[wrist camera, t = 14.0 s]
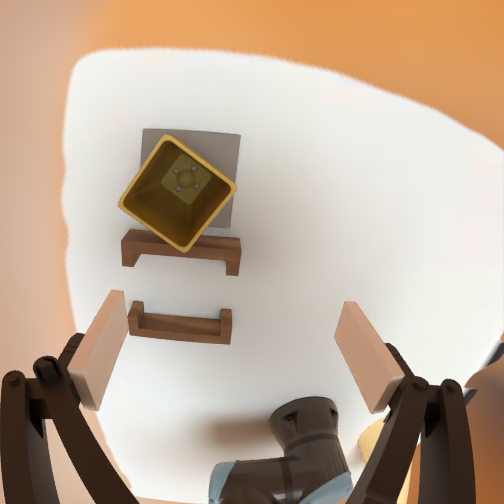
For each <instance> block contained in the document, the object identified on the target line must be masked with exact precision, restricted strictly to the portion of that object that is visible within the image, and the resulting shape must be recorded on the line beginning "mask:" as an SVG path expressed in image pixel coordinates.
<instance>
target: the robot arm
mask: <svg viewBox="0 0 504 504" xmlns="http://www.w3.org/2000/svg"><path fill="white" fill-rule="evenodd" d="M127 332H128V322H127V315H126V308H125V300H124V292H123V291H117V290H111V291H110V293H109V295H108V296H107V298H106V300H105V301H104V303H103V305H102V306H101V308H100V310H99V311H98V313H97V315H96V316H95V318H94V320H93V322H92V323H91V325H90V327H89V329H88V330H87V332H86V334H82V333H76V334H75V335H73V336H72V337H71V338H70V339H69V341H68V343H67V345H66V346H65V348H64V349H63V352H62V353H61V355H60V356H59V358H58V360H57V359H56V358H55V357H53V356H44V357H41V358H39V359H37V360H36V361H35V363H34V365H33V371H34V373H35V375H36V377H37V378H28V379H27V378H25V376H24V374H23V373H22V372H20V371H15V370H14V371H10V372H8V373H7V374H6V375H5V376H4V377H3V380H2V389H1V403H0V456H1V471H2V481H3V489H4V496H5V503H6V504H60V502H59V498H58V494H57V490H56V486H55V481H54V477H53V472H52V467H51V461H50V455H49V449H48V442H47V434H46V426H45V419H52V420H53V422H54V424H55V427H56V429H57V431H58V434H59V436H60V438H61V440H62V443H63V445H64V447H65V449H66V451H67V453H68V455H69V457H70V459H71V461H72V463H73V465H74V467H75V469H76V471H77V473H78V475H79V476H80V478H81V480H82V482H83V483H84V485H85V487H86V489H87V490H88V492H89V494H90V495H91V497H92V498H93V500H94V502H95V503H96V504H139V502H138V501H137V500H136V498H135V497H134V496H133V494H132V493H131V492H130V490H129V489H128V488H127V486H126V485H125V484H124V482H123V481H122V479H121V478H120V477H119V475H118V474H117V472H116V471H115V469H114V468H113V466H112V465H111V463H110V462H109V460H108V458H107V457H106V455H105V454H104V452H103V450H102V449H101V447H100V445H99V444H98V442H97V440H96V439H95V437H94V435H93V433H92V432H91V430H90V428H89V426H88V424H87V423H86V421H85V419H84V417H83V415H82V413H81V411H80V409H79V404H80V402H81V403H82V405H83V407H84V408H85V409H90V410H94V411H99V408H100V405H101V402H102V399H103V396H104V393H105V390H106V387H107V385H108V382H109V379H110V376H111V373H112V371H113V368H114V365H115V363H116V360H117V357H118V355H119V352H120V350H121V347H122V344H123V342H124V339H125V337H126V334H127ZM334 338H335V340H336V342H337V344H338V346H339V348H340V350H341V352H342V354H343V356H344V358H345V360H346V362H347V364H348V366H349V369H350V371H351V373H352V375H353V377H354V379H355V381H356V383H357V385H358V387H359V390H360V392H361V394H362V396H363V398H364V400H365V402H366V404H367V407H368V409H369V411H370V413H371V414H374V413H379V412H384V410H385V408H386V407H387V405H389V407H390V409H391V410H390V411H389V413H388V415H387V416H386V418H385V419H384V421H383V423H384V425H383V428H382V430H381V433H380V435H379V438H378V440H377V442H376V444H375V447H374V449H373V451H372V453H371V455H370V458H369V460H368V462H367V464H366V466H365V468H364V470H363V472H362V474H361V476H360V478H359V480H358V482H357V484H356V486H355V487H354V489H353V484H352V480H351V472H350V471H349V469H348V466H347V463H346V460H345V457H344V454H343V451H342V448H341V445H340V442H339V439H338V411H337V408H336V405H335V403H334V402H333V401H331V400H330V399H327V398H323V397H309V398H303V399H299V400H295V401H292V402H290V403H288V404H286V405H284V406H282V407H280V408H279V409H278V410H277V411H275V412H274V414H273V415H272V417H271V419H270V425H271V430H272V433H273V435H274V436H275V438H276V439H277V441H278V443H279V444H280V446H281V447H282V449H283V451H284V456H285V457H279V458H270V459H260V460H245V461H239V460H236V461H234V462H222V463H219V464H217V465H216V466H215V467H214V469H213V471H212V474H211V478H210V484H209V504H337V503H339V502H341V501H342V500H344V499H345V498H347V497H348V496H349V495H350V494H351V495H350V497H349V498H348V500H347V502H346V504H397V500H398V497H399V495H400V492H401V490H402V487H403V484H404V482H405V479H406V476H407V473H408V471H409V468H410V465H411V462H412V458H413V455H414V452H415V449H416V445H417V442H418V438H419V435H420V431H421V460H420V461H421V462H420V485H419V498H418V504H476V494H475V493H476V491H475V474H474V462H473V452H472V444H471V437H470V431H469V424H468V418H467V412H466V407H465V402H464V397H463V393H462V388H461V386H460V384H459V383H458V382H456V381H455V380H452V379H445V380H443V382H442V383H441V385H440V386H437V385H429V383H428V382H427V381H426V380H425V379H423V378H422V377H418V376H415V375H414V374H413V372H412V371H411V369H410V368H409V366H408V365H407V364H406V362H405V361H404V360H403V358H402V356H400V353H399V352H398V350H397V349H396V348H395V347H394V346H393V345H391V344H390V343H384V342H383V341H382V339H381V338H380V336H379V335H378V333H377V332H376V330H375V329H374V327H373V326H372V324H371V323H370V322H369V320H368V319H367V317H366V316H365V314H364V313H363V311H362V310H361V309H360V307H359V306H358V304H357V303H356V302H344V306H343V309H342V313H341V316H340V320H339V323H338V326H337V329H336V333H335V336H334ZM352 490H353V491H352ZM351 492H352V493H351Z"/></svg>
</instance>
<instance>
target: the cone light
mask: <svg viewBox="0 0 504 504" xmlns="http://www.w3.org/2000/svg"><path fill="white" fill-rule="evenodd" d="M385 418H386V417H384V418H382V419H380V420H379V421H377V422H375V423H374V424H372V425H371V426H370V427H368V428H367V429H366V430H365V431H364V432H363V433H362V434H361V435H360V437H359V439H358V442H359V445H360V448H361V452H362V455H363V459H364V462H365V466H366V464H367V462H368V460H369V458H370V455H371V453H372V451H373V449H374V447H375V444H376V442H377V440H378V438H379V435H380V433H381V430H382V428H383V425H384V423H383V421H384V419H385ZM411 465H412V462H411ZM411 465H410V468H409V471H408V473H407V476H406V479H405V482H404V484H403V487H402V490H401V492H400V495H399V497H398V500H397V504H406V501H407V496H408V489H409V482H410V475H411Z"/></svg>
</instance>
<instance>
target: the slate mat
mask: <svg viewBox="0 0 504 504" xmlns="http://www.w3.org/2000/svg"><path fill="white" fill-rule="evenodd" d="M164 135H171V136H173V137H176V138H178V139H180V140H181V141H182V142H183V143H185V144H186V145H187V146H189V147H190V148H191V149H193V150H194V151H195V152H197V153H198V154H199V155H200V156H202V157H203V158H204V159H206V160H207V161H208V162H210V163H211V164H212V165H214V166H215V167H216V168H218V169H219V170H220V171H222V172H223V173H224V174H226V175H227V176H228V177H229V178H230V179H231V180H232V181H233V182H234V183H235V178H236V169H237V161H238V153H239V145H240V137H241V135H235V134H226V133H215V132H202V131H188V130H168V129H143V137H142V151H141V167H142V166H143V164H144V163H145V161H146V160H147V158H148V157H149V155H150V154H151V152H152V151H153V149H154V148H155V146H156V145H157V143H158V142H159V141H160V139H161V138H162V137H163V136H164ZM140 169H141V168H140ZM192 170H193V171H195V170H196V167H195V166H193V167H192ZM174 173H178V170H177V169H174ZM194 187H195V188H196V189H197V188H199V185H198V184H195V185H194ZM176 189H177V191H180V190H181V188H180V187H177V188H176ZM232 203H233V196H232V197H231V198H230V200H229V201H228V202H227V203H226V204H225V205H224V207H223V208H222V209H221V210H220V211H219V213H218V214H217V215H216V216H215V217H214V219H213V220H212V221H211V222H210V224H209V225H208V226H207V227H219V228H230V221H231V212H232Z"/></svg>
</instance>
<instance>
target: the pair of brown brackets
mask: <svg viewBox="0 0 504 504" xmlns="http://www.w3.org/2000/svg"><path fill="white" fill-rule="evenodd" d="M121 250H122V266H127V267H134V265H135V263H136V261H137V260H138V258H139V256H140V255H141V254H152V255H164V256H175V257H187V258H199V259H211V260H224V261H226V275H231V276H238V274H239V265H240V257H241V245H240V239H239V238H228V237H216V236H204V235H200V236H199V237H198V239H197V240H196V241H195V243H194V244H193V245H192V246H191V248H190V249H189V250H188V251H187V252H185V253H183V252H181V251H180V250H178V249H177V248H175V247H174V246H172V245H171V244H169V243H168V242H166V241H165V240H164V239H162V238H161V237H160V236H158V235H157V234H155V233H154V232H152V231H141V230H129V232H128V233H127V234H126V235H125V236H124V238H123V239H122V240H121ZM127 318H128V326H129V333H130V335H132V336H140V337H148V338H157V339H166V340H176V341H187V342H199V343H213V344H230V340H231V332H232V314H231V310H227V309H221V319H220V320H218V319H204V318H192V317H180V316H170V315H160V314H150V313H144V307H143V302H137V301H134V302H133V304H132V307H131V309H130V311H129V314H128V316H127Z"/></svg>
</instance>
